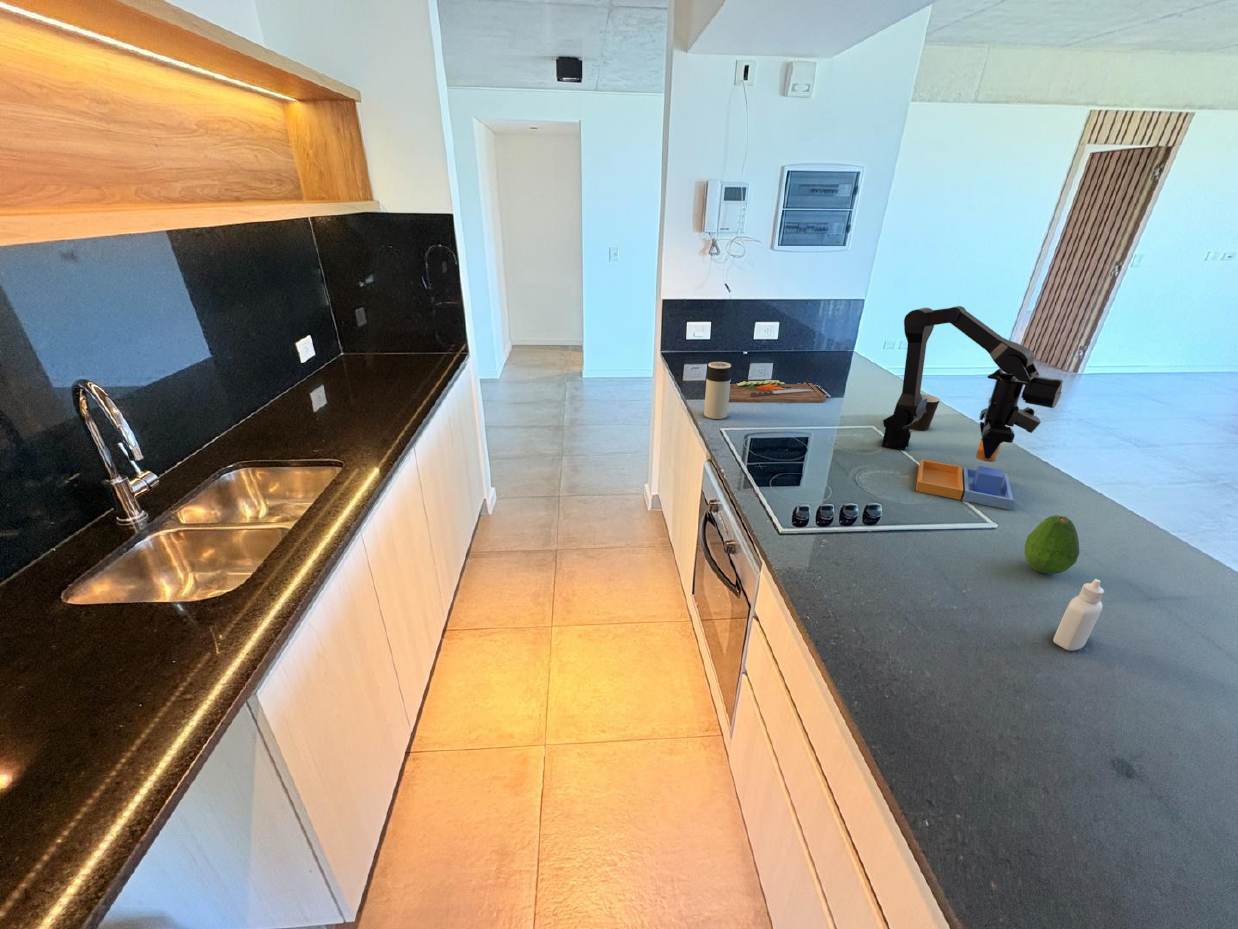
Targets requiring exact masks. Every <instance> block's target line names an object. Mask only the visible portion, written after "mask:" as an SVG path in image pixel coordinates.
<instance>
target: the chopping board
mask: <svg viewBox="0 0 1238 929" xmlns="http://www.w3.org/2000/svg"><path fill="white" fill-rule="evenodd" d="M808 384H809V385H810V386H809V385H808ZM808 384H807V383H806V382H804V383H803V384H801V383H797V384H785V383H784V382H780V381H779V380H765V381H748V382H746V381H743V382H740V383H736V384H730V393H729V403H798V404H799V403H800V404H801V403H803V404H805V403H807V404H809V403H811V404H812V403H813V404H815V403H816V404H818V403H819V404H820V403H825V402H827V397H828V399H829V398H832V396H831V395H830V394H829V393H828V392H827V391H826V390H825V389H823V388H822V387H821V386H820V385H819V384H818V385H819V386H818V385H816V384H813V383H812V382H811V383H808ZM782 387H785V388H782ZM786 387H791V388H786ZM811 387H812V388H813V389H814V390H813V389H812V388H811ZM820 387H821V388H822V389H821V388H820Z"/></svg>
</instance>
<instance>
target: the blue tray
mask: <svg viewBox="0 0 1238 929" xmlns="http://www.w3.org/2000/svg"><path fill="white" fill-rule="evenodd" d="M976 471H977V468H972V467H968V466H967V467H966V466H963V467H962V477H963V493H962V496H961V500H962V501H964V502H969V503H973V504H978V505H984V506H989V507H992V508H993V507H994V508H998V509H1003V510H1008V511H1011V510H1012V507H1013V504H1014V501H1015V500H1014V496H1013V492H1012V488H1011V483H1010V479H1009V474H1005V473H1003V477H1004V478H1003V481H1002V484H1001V487H1000V490H999V493H998V496H996V495H990V494H985V493H980V492H975V491H973V481H974V478H975V474H976Z"/></svg>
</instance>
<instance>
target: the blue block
mask: <svg viewBox="0 0 1238 929" xmlns="http://www.w3.org/2000/svg"><path fill="white" fill-rule="evenodd" d="M976 469H977V471H976V474H975V478H974V481H973V491H975V492H980V493H985V494H990V495H996V496H998V493H999V490H1000V487H1001V484H1002V481H1003V478H1004V477H1003V474H1004V472H1003V469H1000V468H994V467H989V466H984V465H977V468H976Z"/></svg>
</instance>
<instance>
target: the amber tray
mask: <svg viewBox="0 0 1238 929" xmlns="http://www.w3.org/2000/svg"><path fill="white" fill-rule="evenodd" d="M962 471H963V466H961V465H956V464H950V463H945V462H939V461H934V460H927V459H922V458H921V459H920V460H919V464H918V469H917V476H916V486H915V491H916V492H920V493H923V494H929V495H934V496H938V497H939V496H940V497H943V498H949V499H954V500H958V501H960V500H962V493H963V477H962Z"/></svg>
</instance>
